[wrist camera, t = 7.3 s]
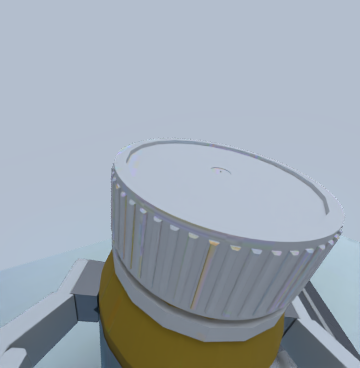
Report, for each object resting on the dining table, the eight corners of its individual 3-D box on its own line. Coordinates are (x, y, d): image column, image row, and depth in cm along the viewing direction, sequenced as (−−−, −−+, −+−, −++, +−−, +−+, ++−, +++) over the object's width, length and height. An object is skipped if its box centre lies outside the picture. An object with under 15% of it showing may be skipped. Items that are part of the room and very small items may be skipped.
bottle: (161, 302, 17) (195, 131, 10) (233, 376, 13) (362, 184, 6) (81, 383, 12) (40, 144, 5) (161, 541, 8) (431, 453, 1)
